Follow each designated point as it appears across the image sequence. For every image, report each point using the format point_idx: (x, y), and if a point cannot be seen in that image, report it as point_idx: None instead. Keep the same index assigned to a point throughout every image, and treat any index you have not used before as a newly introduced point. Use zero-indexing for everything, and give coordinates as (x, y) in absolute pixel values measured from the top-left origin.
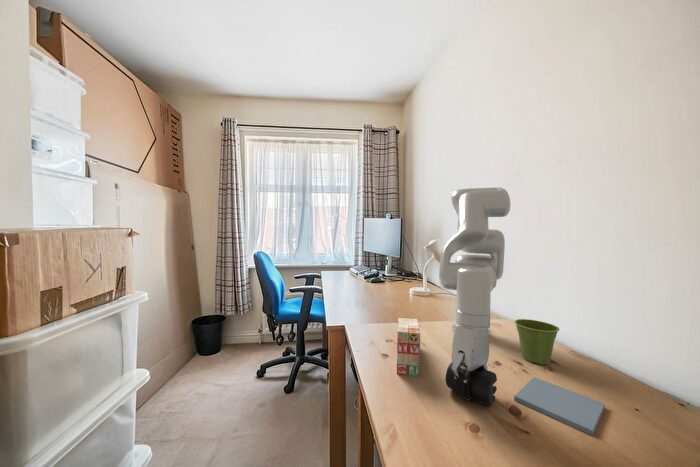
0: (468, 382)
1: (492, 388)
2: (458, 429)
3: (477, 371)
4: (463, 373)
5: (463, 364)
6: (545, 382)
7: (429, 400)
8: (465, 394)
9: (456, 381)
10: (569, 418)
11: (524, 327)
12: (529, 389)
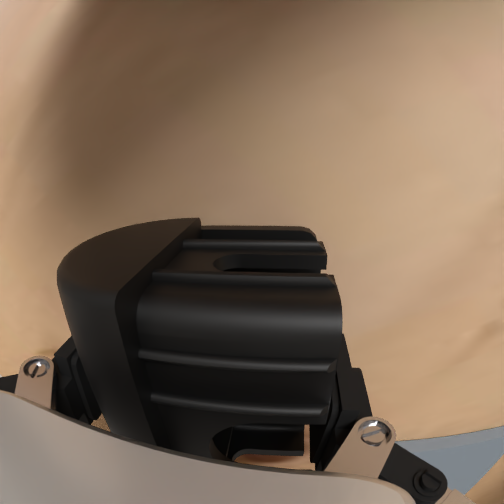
0: (83, 419)
1: None
2: (23, 337)
3: (320, 425)
4: (100, 407)
5: (261, 384)
6: (496, 457)
7: (35, 191)
8: None
9: (71, 342)
10: None
11: None
12: (431, 460)
